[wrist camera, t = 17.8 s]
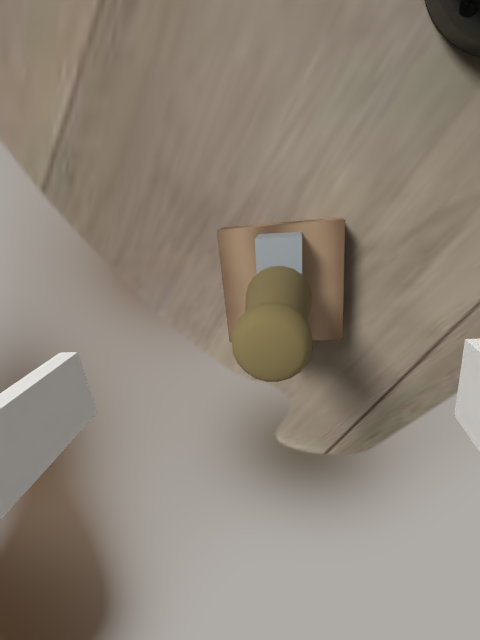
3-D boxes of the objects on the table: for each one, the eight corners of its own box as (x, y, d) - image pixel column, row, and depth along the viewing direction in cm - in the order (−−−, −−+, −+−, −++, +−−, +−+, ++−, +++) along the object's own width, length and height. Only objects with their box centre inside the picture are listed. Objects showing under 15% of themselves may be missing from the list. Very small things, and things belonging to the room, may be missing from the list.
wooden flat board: (339, 217, 33) (345, 219, 29) (338, 327, 37) (342, 339, 34) (224, 227, 35) (216, 230, 31) (234, 329, 39) (229, 342, 36)
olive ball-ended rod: (266, 339, 31) (253, 410, 21) (233, 286, 30) (201, 335, 20) (324, 310, 29) (340, 373, 19) (291, 252, 28) (289, 287, 18)
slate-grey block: (301, 231, 30) (302, 236, 27) (301, 338, 34) (302, 353, 31) (258, 234, 31) (254, 238, 28) (263, 338, 35) (260, 353, 32)
